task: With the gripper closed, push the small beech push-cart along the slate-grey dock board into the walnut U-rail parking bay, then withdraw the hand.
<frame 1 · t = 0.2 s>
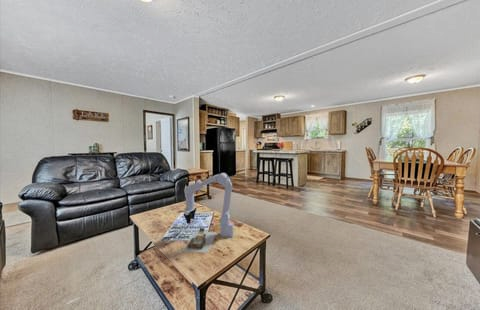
hand: (190, 220, 123), 10 cm above the table, fingers open, 7 cm apart
parking bay: (197, 245, 109), resting on dock board
dock board: (200, 241, 114), on the table
cart: (200, 238, 117), point 1 cm above the table, touching dock board
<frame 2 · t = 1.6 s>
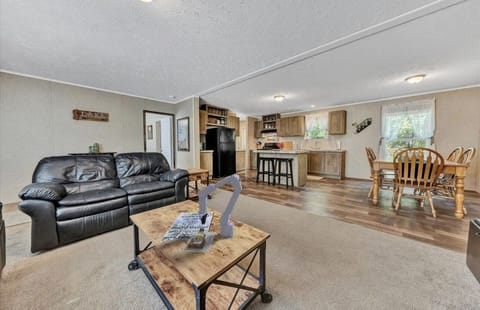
hand: (203, 224, 124), 7 cm above the table, fingers closed
nothing on the table moved.
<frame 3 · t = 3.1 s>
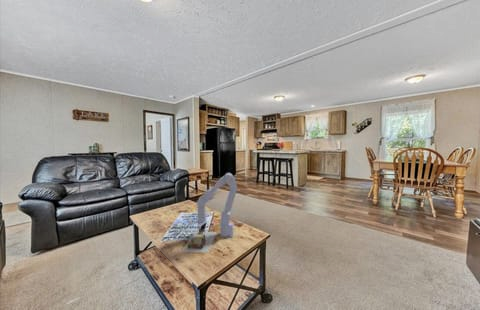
hand: (202, 233, 121), 2 cm above the table, fingers closed
cart: (200, 239, 116), point 1 cm above the table, touching gripper
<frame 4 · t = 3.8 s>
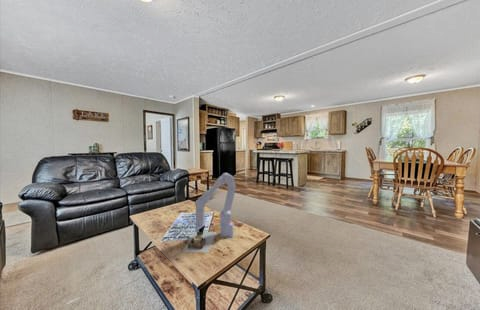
hand: (200, 237, 116), 2 cm above the table, fingers closed
cart: (198, 242, 112), point 1 cm above the table, touching dock board, gripper
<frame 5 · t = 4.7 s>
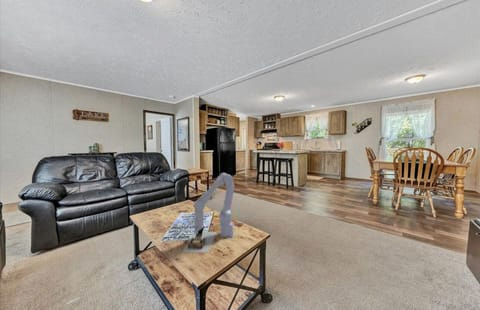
hand: (199, 238, 114), 2 cm above the table, fingers closed
cart: (197, 244, 109), point 1 cm above the table, touching dock board, gripper
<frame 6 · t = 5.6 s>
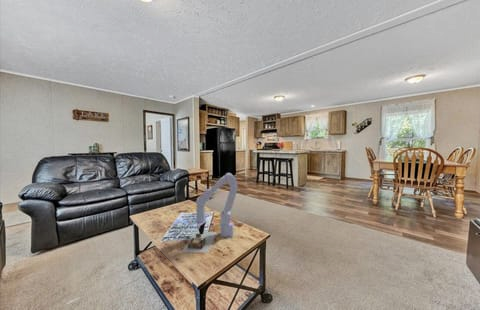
hand: (201, 233, 118), 3 cm above the table, fingers closed
cart: (197, 244, 109), point 1 cm above the table, touching dock board
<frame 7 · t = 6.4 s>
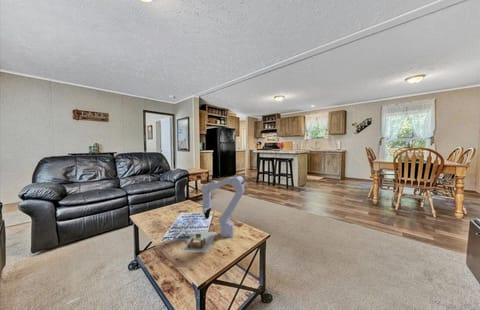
hand: (207, 218, 126), 10 cm above the table, fingers closed
nothing on the table moved.
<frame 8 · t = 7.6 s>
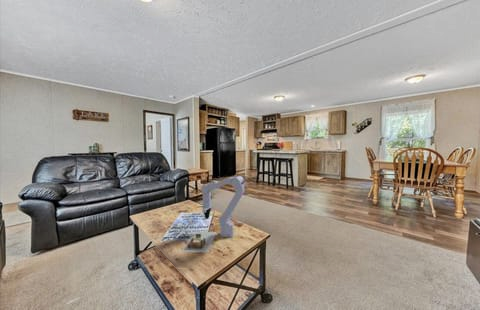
hand: (207, 218, 126), 10 cm above the table, fingers closed
nothing on the table moved.
at the end: cart 0.2 cm from the target spot, point 0.6 cm above the table; cart tilted 0° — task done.
